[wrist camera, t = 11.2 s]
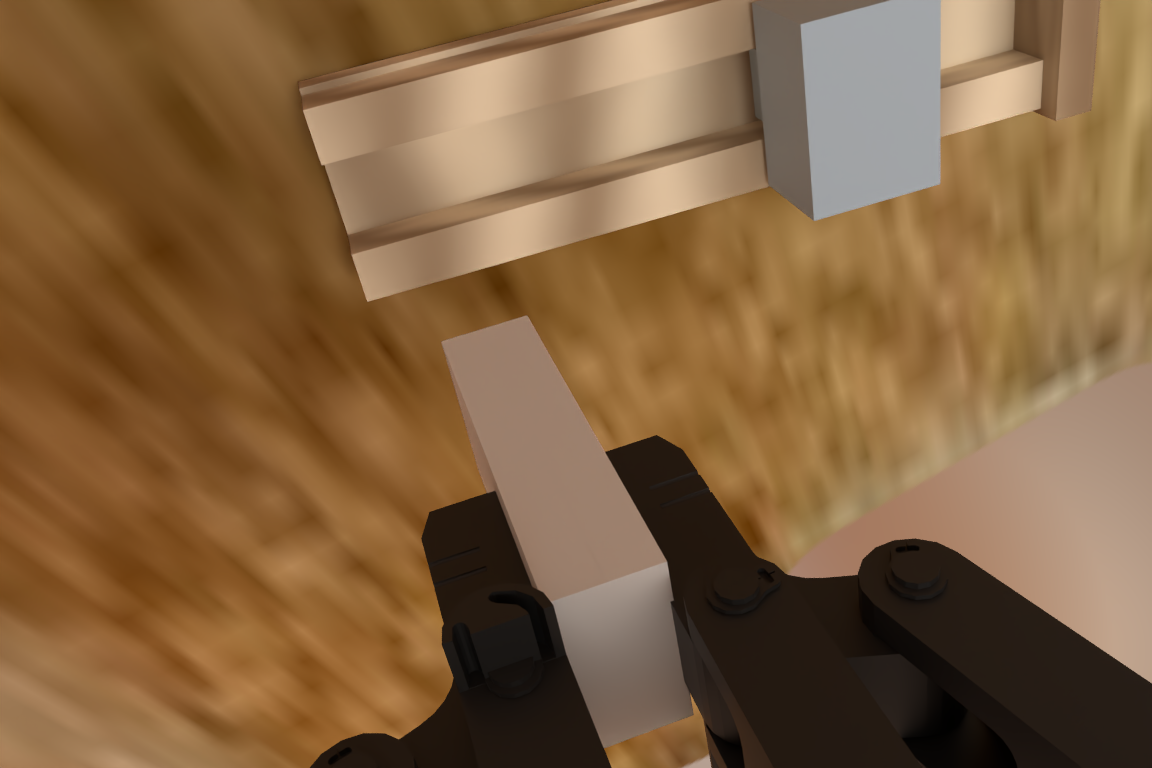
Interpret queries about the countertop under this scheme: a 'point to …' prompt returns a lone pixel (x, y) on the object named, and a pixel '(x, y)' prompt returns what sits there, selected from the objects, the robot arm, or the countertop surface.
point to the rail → (615, 123)
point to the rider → (848, 99)
